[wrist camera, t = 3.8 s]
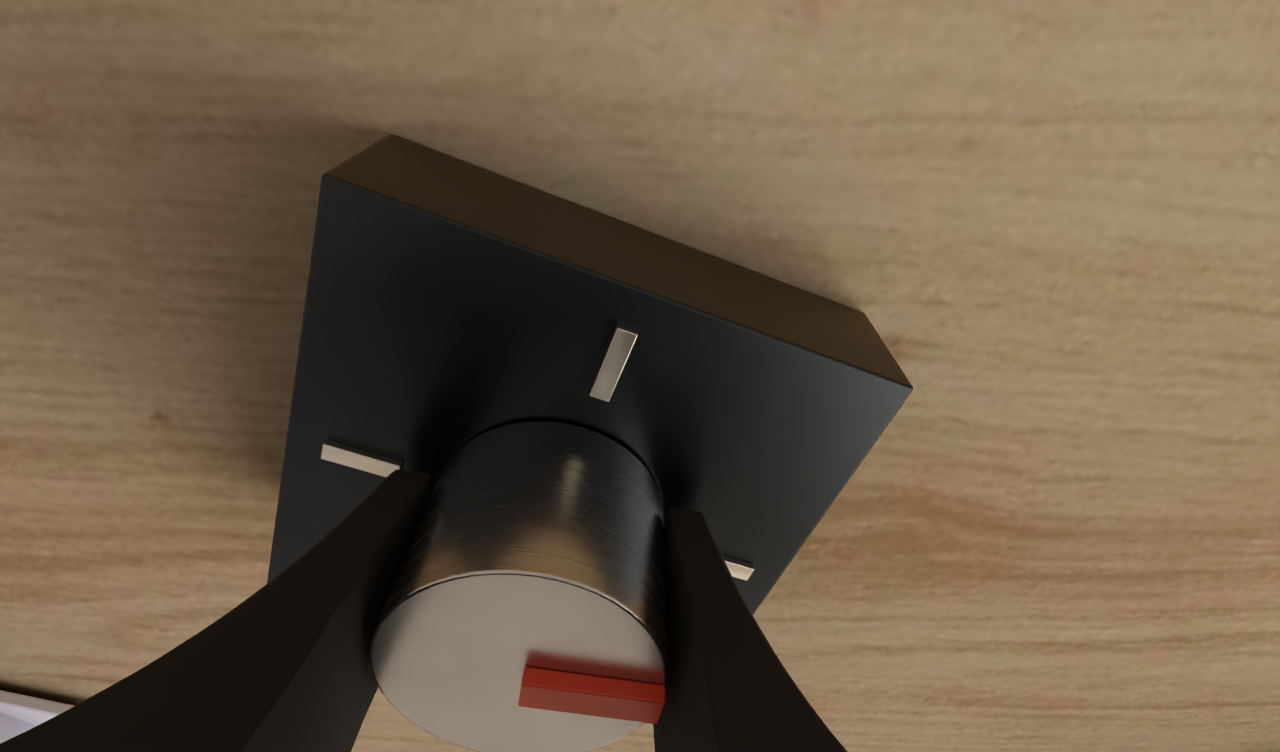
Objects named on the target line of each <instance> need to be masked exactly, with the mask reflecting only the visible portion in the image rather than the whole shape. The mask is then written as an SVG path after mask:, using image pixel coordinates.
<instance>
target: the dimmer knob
mask: <svg viewBox="0 0 1280 752" xmlns="http://www.w3.org/2000/svg"><path fill="white" fill-rule="evenodd" d="M370 660H371V668H372V671H373V674H374V677H375V680H376V682H377V684H378V686H379V688H380V690H381V692H382V693H383V694H384V696H385V697H386V698H387V700H388V701H389V702H390V703H391V704H392V705H393V706H394V707H395V708H396V709H397V710H398V711H399V712H400V713H401V714H402V715H403V716H404V717H406V718H407V719H408V720H410V721H411V722H412V723H414V724H415V725H417V726H418V727H420V728H421V729H423V730H425V731H426V732H428V733H430V734H432V735H434V736H436V737H438V738H440V739H443V740H445V741H448V742H450V743H452V744H455V745H458V746H461V747H464V748H467V749H471V750H474V751H479V752H589V751H592V750H595V749H598V748H602V747H605V746H607V745H609V744H612V743H614V742H616V741H619V740H620V739H622V738H624V737H626V736H627V735H629V734H631V733H632V732H633V731H635V730H636V729H637V728H639V727H640V726H642V725H643V724H644V723H652V724H658V722H659V720H660V717H661V714H662V711H663V709H664V706H665V703H666V692H665V689H666V685H667V681H668V651H667V617H666V583H665V549H664V516H663V505H662V499H661V496H660V493H659V489H658V487H657V485H656V483H655V481H654V479H653V477H652V476H651V474H650V473H649V472H648V470H647V469H646V467H645V466H644V465H643V464H642V463H641V462H640V461H639V460H638V459H637V458H636V456H635V455H633V454H632V453H631V452H630V451H628V450H627V449H626V448H625V447H623V446H622V445H620V444H619V443H617V442H615V441H614V440H612V439H611V438H608V437H606V436H604V435H602V434H600V433H598V432H595V431H592V430H590V429H587V428H584V427H580V426H576V425H572V424H567V423H560V422H551V421H530V422H520V423H514V424H510V425H505V426H501V427H498V428H495V429H493V430H490V431H487V432H485V433H483V434H481V435H479V436H477V437H475V438H474V439H472V440H471V441H469V442H468V443H466V444H465V445H463V446H462V447H461V448H460V449H459V450H458V451H457V452H456V453H455V454H454V455H453V456H452V457H451V458H450V460H449V461H448V462H447V463H446V465H445V466H444V468H443V470H442V472H441V474H440V476H439V478H438V481H437V483H436V485H435V488H434V490H433V492H432V495H431V497H430V500H429V502H428V504H427V507H426V509H425V511H424V514H423V516H422V518H421V521H420V523H419V526H418V528H417V530H416V533H415V535H414V537H413V540H412V542H411V545H410V547H409V549H408V552H407V554H406V556H405V559H404V561H403V564H402V566H401V568H400V571H399V573H398V575H397V578H396V580H395V582H394V585H393V587H392V590H391V592H390V594H389V597H388V599H387V601H386V604H385V606H384V609H383V611H382V613H381V616H380V618H379V620H378V623H377V625H376V628H375V630H374V633H373V636H372V640H371V646H370Z"/></svg>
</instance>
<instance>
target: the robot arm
mask: <svg viewBox="0 0 1280 752" xmlns="http://www.w3.org/2000/svg"><path fill="white" fill-rule="evenodd" d="M429 500H430V474H426V473H419V472H412V471H405V470H395V471H393V472H392V473H390V474H389V475H388V476H387V477H386V478H385V479H384V480H383V481H382V482H381V484H380V485H378V486H377V487H376V488H375V489H374V490H373V491H372V492H371V493H370V494H369V495H368V496H367V497H366V498H365V499H364V500H363V501H362V502H361V503H360V504H359V505H358V506H357V507H356V508H355V509H354V510H353V511H352V512H351V513H350V514H349V515H347V516H346V517H345V518H344V519H343V520H342V521H341V522H340V523H339V524H338V525H337V526H335V527H334V528H333V529H332V530H331V531H330V532H329V533H328V534H326V535H325V536H324V537H323V538H322V539H321V540H320V541H319V542H317V543H316V544H315V545H314V546H313V547H312V548H311V549H309V550H308V551H307V552H306V553H305V554H304V555H302V556H301V557H300V558H299V559H297V560H296V561H295V562H294V563H292V564H291V565H290V566H289V567H288V568H286V569H285V570H284V571H283V572H281V573H280V574H279V575H278V576H276V577H275V578H274V579H273V580H271V581H270V582H269V583H268V584H266V585H265V586H264V587H263V588H261V589H260V590H259V591H257V592H256V593H255V594H253V595H252V596H251V597H249V598H248V599H247V600H245V601H244V602H242V603H241V604H240V605H238V606H237V607H236V608H234V609H233V610H231V611H230V612H228V613H227V614H226V615H224V616H223V617H221V618H220V619H218V620H217V621H216V622H214V623H213V624H211V625H210V626H208V627H207V628H205V629H204V630H202V631H201V632H199V633H198V634H196V635H194V636H193V637H191V638H190V639H188V640H187V641H185V642H184V643H182V644H180V645H179V646H177V647H176V648H174V649H173V650H171V651H170V652H168V653H166V654H165V655H163V656H162V657H160V658H158V659H157V660H155V661H153V662H152V663H150V664H149V665H147V666H145V667H144V668H142V669H140V670H139V671H137V672H135V673H133V674H132V675H130V676H128V677H126V678H125V679H123V680H121V681H119V682H117V683H116V684H114V685H112V686H110V687H108V688H107V689H105V690H103V691H101V692H99V693H97V694H96V695H94V696H92V697H90V698H88V699H87V700H85V701H83V702H81V703H79V704H78V705H76V706H75V705H70V704H65V703H60V702H56V701H51V700H46V699H41V698H36V697H32V696H27V695H22V694H17V693H12V692H8V691H3V690H0V752H351V750H352V747H353V745H354V742H355V740H356V737H357V735H358V732H359V730H360V727H361V725H362V722H363V720H364V717H365V715H366V713H367V711H368V708H369V706H370V704H371V702H372V699H373V697H374V695H375V693H376V690H377V688H378V684H377V682H376V680H375V677H374V674H373V671H372V668H371V660H370V646H371V640H372V636H373V633H374V630H375V628H376V625H377V623H378V620H379V618H380V616H381V613H382V611H383V609H384V606H385V604H386V601H387V599H388V597H389V594H390V592H391V590H392V587H393V585H394V582H395V580H396V578H397V575H398V573H399V571H400V568H401V566H402V564H403V561H404V559H405V556H406V554H407V552H408V549H409V547H410V545H411V542H412V540H413V537H414V535H415V533H416V530H417V528H418V526H419V523H420V521H421V518H422V516H423V514H424V511H425V509H426V507H427V504H428V502H429ZM664 549H665V583H666V617H667V651H668V681H667V685H666V689H665V692H666V703H665V706H664V709H663V711H662V714H661V717H660V720H659V722H658V724H653V726H654V742H655V752H847V751H846V749H845V748H844V747H843V746H842V745H841V744H840V742H839V741H838V740H837V739H836V738H835V736H834V735H833V734H832V733H831V732H830V730H829V729H828V728H827V726H826V725H825V724H824V722H823V721H822V720H821V718H820V717H819V716H818V714H817V713H816V712H815V710H814V709H813V708H812V706H811V705H810V704H809V702H808V701H807V700H806V698H805V697H804V695H803V694H802V693H801V691H800V690H799V688H798V687H797V686H796V684H795V683H794V681H793V680H792V678H791V677H790V675H789V674H788V672H787V671H786V669H785V668H784V666H783V665H782V663H781V662H780V660H779V659H778V657H777V655H776V654H775V652H774V651H773V649H772V647H771V646H770V644H769V642H768V641H767V639H766V637H765V636H764V634H763V633H762V631H761V629H760V627H759V626H758V624H757V622H756V620H755V619H754V617H753V615H752V613H751V612H750V610H749V608H748V606H747V604H746V602H745V600H744V598H743V596H742V595H741V593H740V591H739V589H738V587H737V585H736V583H735V581H734V579H733V577H732V575H731V573H730V571H729V569H728V567H727V565H726V563H725V561H724V558H723V556H722V554H721V552H720V550H719V548H718V545H717V543H716V541H715V538H714V536H713V534H712V531H711V529H710V526H709V524H708V521H707V519H706V517H705V516H704V514H703V513H702V512H699V511H692V510H685V509H678V508H670V509H669V513H668V517H667V521H666V524H665V528H664Z"/></svg>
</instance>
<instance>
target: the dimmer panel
mask: <svg viewBox="0 0 1280 752" xmlns="http://www.w3.org/2000/svg"><path fill="white" fill-rule="evenodd" d="M912 390H913V387H912V385H911V384H910V382H909V380H908V379H907V377H906V376H905V374H904V373H903V371H902V370H901V368H900V367H899V365H898V364H897V362H896V361H895V359H894V358H893V356H892V355H891V353H890V351H889V350H888V348H887V347H886V345H885V344H884V342H883V341H882V339H881V338H880V336H879V335H878V333H877V332H876V330H875V329H874V327H873V325H872V324H871V322H870V321H869V319H868V318H867V316H866V315H865V314H864V313H862V312H859V311H857V310H854V309H852V308H849V307H846V306H844V305H841V304H838V303H836V302H833V301H830V300H828V299H825V298H823V297H820V296H817V295H815V294H812V293H809V292H807V291H804V290H801V289H799V288H796V287H794V286H791V285H788V284H786V283H783V282H780V281H778V280H775V279H772V278H770V277H767V276H765V275H762V274H759V273H757V272H754V271H751V270H749V269H746V268H743V267H741V266H738V265H736V264H733V263H730V262H728V261H725V260H722V259H720V258H717V257H714V256H712V255H709V254H707V253H704V252H701V251H699V250H696V249H693V248H691V247H688V246H685V245H683V244H680V243H678V242H675V241H672V240H670V239H667V238H664V237H662V236H659V235H656V234H654V233H651V232H649V231H646V230H643V229H641V228H638V227H635V226H633V225H630V224H627V223H625V222H622V221H620V220H617V219H614V218H612V217H609V216H606V215H604V214H601V213H598V212H596V211H593V210H591V209H588V208H585V207H583V206H580V205H577V204H575V203H572V202H569V201H567V200H564V199H562V198H559V197H556V196H554V195H551V194H548V193H546V192H543V191H541V190H538V189H535V188H533V187H530V186H527V185H525V184H522V183H519V182H517V181H514V180H512V179H509V178H506V177H504V176H501V175H498V174H496V173H493V172H490V171H488V170H485V169H483V168H480V167H477V166H475V165H472V164H469V163H467V162H464V161H461V160H459V159H456V158H454V157H451V156H448V155H446V154H443V153H440V152H438V151H435V150H432V149H430V148H427V147H425V146H422V145H419V144H417V143H414V142H411V141H409V140H406V139H403V138H401V137H398V136H396V135H393V134H390V135H389V136H387V137H385V138H383V139H382V140H380V141H378V142H377V143H375V144H373V145H372V146H370V147H368V148H367V149H365V150H363V151H361V152H360V153H358V154H356V155H355V156H353V157H351V158H350V159H348V160H346V161H345V162H343V163H341V164H339V165H338V166H336V167H334V168H333V169H331V170H329V171H328V172H326V173H324V174H323V176H322V181H321V188H320V196H319V203H318V210H317V218H316V225H315V233H314V240H313V247H312V255H311V262H310V270H309V277H308V284H307V292H306V299H305V307H304V314H303V321H302V329H301V336H300V344H299V351H298V358H297V366H296V373H295V381H294V388H293V395H292V403H291V410H290V418H289V425H288V432H287V440H286V447H285V455H284V462H283V469H282V477H281V484H280V492H279V499H278V506H277V514H276V521H275V529H274V536H273V543H272V551H271V558H270V566H269V573H268V580H267V584H268V583H269V582H270V581H271V580H273V579H274V578H275V577H276V576H278V575H279V574H280V573H281V572H283V571H284V570H285V569H286V568H288V567H289V566H290V565H291V564H292V563H294V562H295V561H296V560H297V559H299V558H300V557H301V556H302V555H304V554H305V553H306V552H307V551H308V550H309V549H311V548H312V547H313V546H314V545H315V544H316V543H317V542H319V541H320V540H321V539H322V538H323V537H324V536H325V535H326V534H328V533H329V532H330V531H331V530H332V529H333V528H334V527H335V526H337V525H338V524H339V523H340V522H341V521H342V520H343V519H344V518H345V517H346V516H347V515H349V514H350V513H351V512H352V511H353V510H354V509H355V508H356V507H357V506H358V505H359V504H360V503H361V502H362V501H363V500H364V499H365V498H366V497H367V496H368V495H369V494H370V493H371V492H372V491H373V490H374V489H375V488H376V487H377V486H378V485H380V484H381V482H382V481H383V480H384V479H385V478H386V477H387V476H388V475H389V474H390V473H392V472H393V471H395V470H405V471H412V472H419V473H426V474H430V497H431V495H432V492H433V490H434V488H435V485H436V483H437V481H438V478H439V476H440V474H441V472H442V470H443V468H444V466H445V465H446V463H447V462H448V461H449V460H450V458H451V457H452V456H453V455H454V454H455V453H456V452H457V451H458V450H459V449H460V448H461V447H462V446H463V445H465V444H466V443H468V442H469V441H471V440H472V439H474V438H475V437H477V436H479V435H481V434H483V433H485V432H487V431H490V430H493V429H495V428H498V427H501V426H505V425H510V424H514V423H520V422H530V421H551V422H560V423H567V424H572V425H576V426H580V427H584V428H587V429H590V430H592V431H595V432H598V433H600V434H602V435H604V436H606V437H608V438H611V439H612V440H614V441H615V442H617V443H619V444H620V445H622V446H623V447H625V448H626V449H627V450H628V451H630V452H631V453H632V454H633V455H635V456H636V458H637V459H638V460H639V461H640V462H641V463H642V464H643V465H644V466H645V467H646V469H647V470H648V472H649V473H650V474H651V476H652V477H653V479H654V481H655V483H656V485H657V487H658V489H659V493H660V496H661V499H662V505H663V516H664V528H665V524H666V521H667V517H668V513H669V509H670V508H678V509H685V510H692V511H699V512H702V513H703V514H704V516H705V517H706V519H707V521H708V524H709V526H710V529H711V531H712V534H713V536H714V538H715V541H716V543H717V545H718V548H719V550H720V552H721V554H722V556H723V558H724V561H725V563H726V565H727V567H728V569H729V571H730V573H731V575H732V577H733V579H734V581H735V583H736V585H737V587H738V589H739V591H740V593H741V595H742V596H743V598H744V600H745V602H746V604H747V606H748V608H749V610H750V612H751V613H752V615H753V614H754V613H755V611H756V610H757V608H758V607H759V606H760V604H761V603H762V601H763V600H764V599H765V597H766V596H767V594H768V593H769V591H770V590H771V589H772V587H773V586H774V584H775V583H776V582H777V580H778V579H779V577H780V576H781V575H782V573H783V572H784V570H785V569H786V568H787V566H788V565H789V563H790V562H791V560H792V559H793V558H794V556H795V555H796V553H797V552H798V551H799V549H800V548H801V546H802V545H803V544H804V542H805V541H806V539H807V538H808V537H809V535H810V534H811V532H812V531H813V530H814V528H815V527H816V525H817V524H818V522H819V521H820V520H821V518H822V517H823V515H824V514H825V513H826V511H827V510H828V508H829V507H830V506H831V504H832V503H833V501H834V500H835V499H836V497H837V496H838V494H839V493H840V491H841V490H842V489H843V487H844V486H845V484H846V483H847V482H848V480H849V479H850V477H851V476H852V475H853V473H854V472H855V470H856V469H857V468H858V466H859V465H860V463H861V462H862V461H863V459H864V458H865V456H866V455H867V453H868V452H869V451H870V449H871V448H872V446H873V445H874V444H875V442H876V441H877V439H878V438H879V437H880V435H881V434H882V432H883V431H884V430H885V428H886V427H887V425H888V424H889V422H890V421H891V420H892V418H893V417H894V415H895V414H896V413H897V411H898V410H899V408H900V407H901V406H902V404H903V403H904V401H905V400H906V399H907V397H908V396H909V394H910V393H911V392H912Z"/></svg>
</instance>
